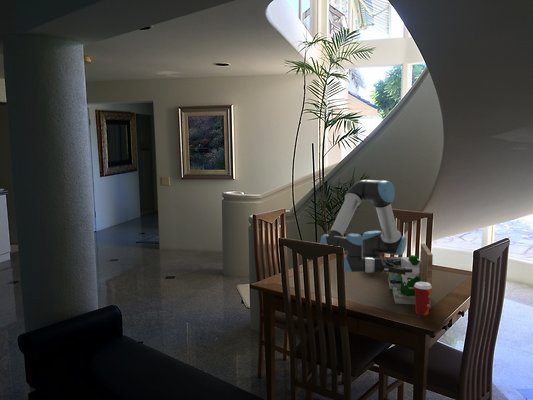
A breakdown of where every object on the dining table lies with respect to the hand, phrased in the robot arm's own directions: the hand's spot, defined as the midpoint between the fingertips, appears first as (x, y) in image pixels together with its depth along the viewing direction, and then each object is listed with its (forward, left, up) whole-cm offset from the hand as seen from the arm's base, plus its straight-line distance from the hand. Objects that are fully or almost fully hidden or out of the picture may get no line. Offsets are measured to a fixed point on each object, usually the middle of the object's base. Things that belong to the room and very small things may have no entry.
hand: (417, 266), depth 227 cm
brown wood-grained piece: (0, -4, -17) cm, 17 cm away
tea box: (-20, -7, -17) cm, 27 cm away
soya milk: (0, -3, -15) cm, 15 cm away
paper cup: (+19, 0, -17) cm, 25 cm away
